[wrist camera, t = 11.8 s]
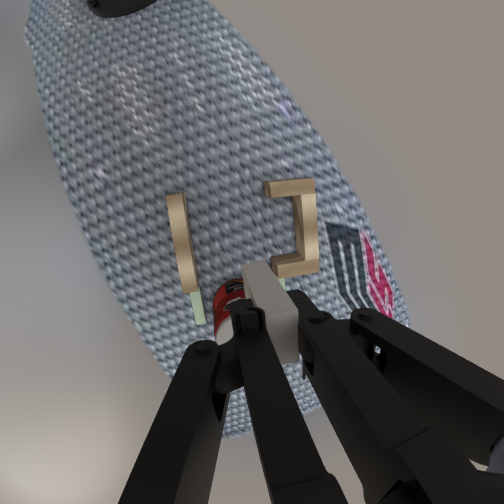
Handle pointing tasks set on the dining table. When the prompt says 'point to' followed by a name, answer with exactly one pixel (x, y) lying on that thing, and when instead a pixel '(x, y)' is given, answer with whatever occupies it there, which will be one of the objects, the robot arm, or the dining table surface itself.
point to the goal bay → (199, 307)
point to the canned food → (226, 309)
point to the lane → (281, 265)
